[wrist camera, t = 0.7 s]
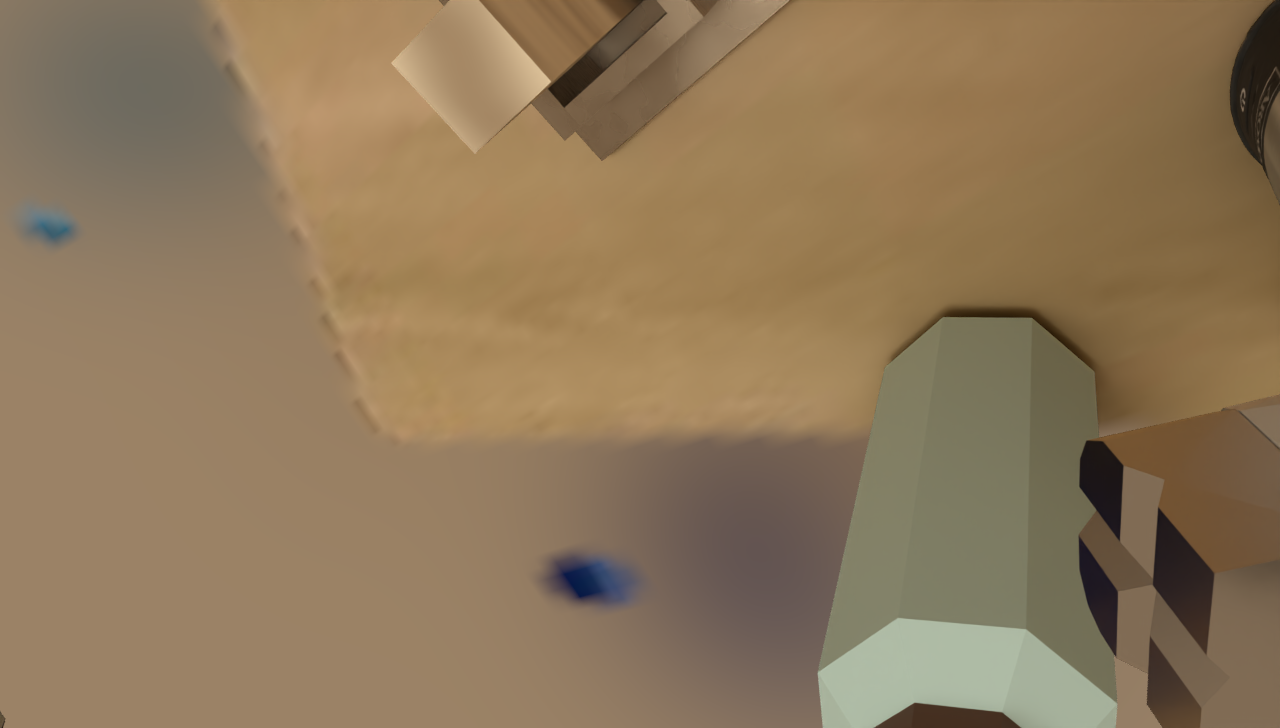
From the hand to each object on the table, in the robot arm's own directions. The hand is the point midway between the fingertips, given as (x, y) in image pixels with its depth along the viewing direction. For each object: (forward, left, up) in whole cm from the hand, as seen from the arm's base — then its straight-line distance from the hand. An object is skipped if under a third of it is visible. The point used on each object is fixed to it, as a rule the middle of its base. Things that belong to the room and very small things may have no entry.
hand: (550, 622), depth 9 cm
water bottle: (+24, +6, -44) cm, 50 cm away
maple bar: (+6, -13, -42) cm, 45 cm away
